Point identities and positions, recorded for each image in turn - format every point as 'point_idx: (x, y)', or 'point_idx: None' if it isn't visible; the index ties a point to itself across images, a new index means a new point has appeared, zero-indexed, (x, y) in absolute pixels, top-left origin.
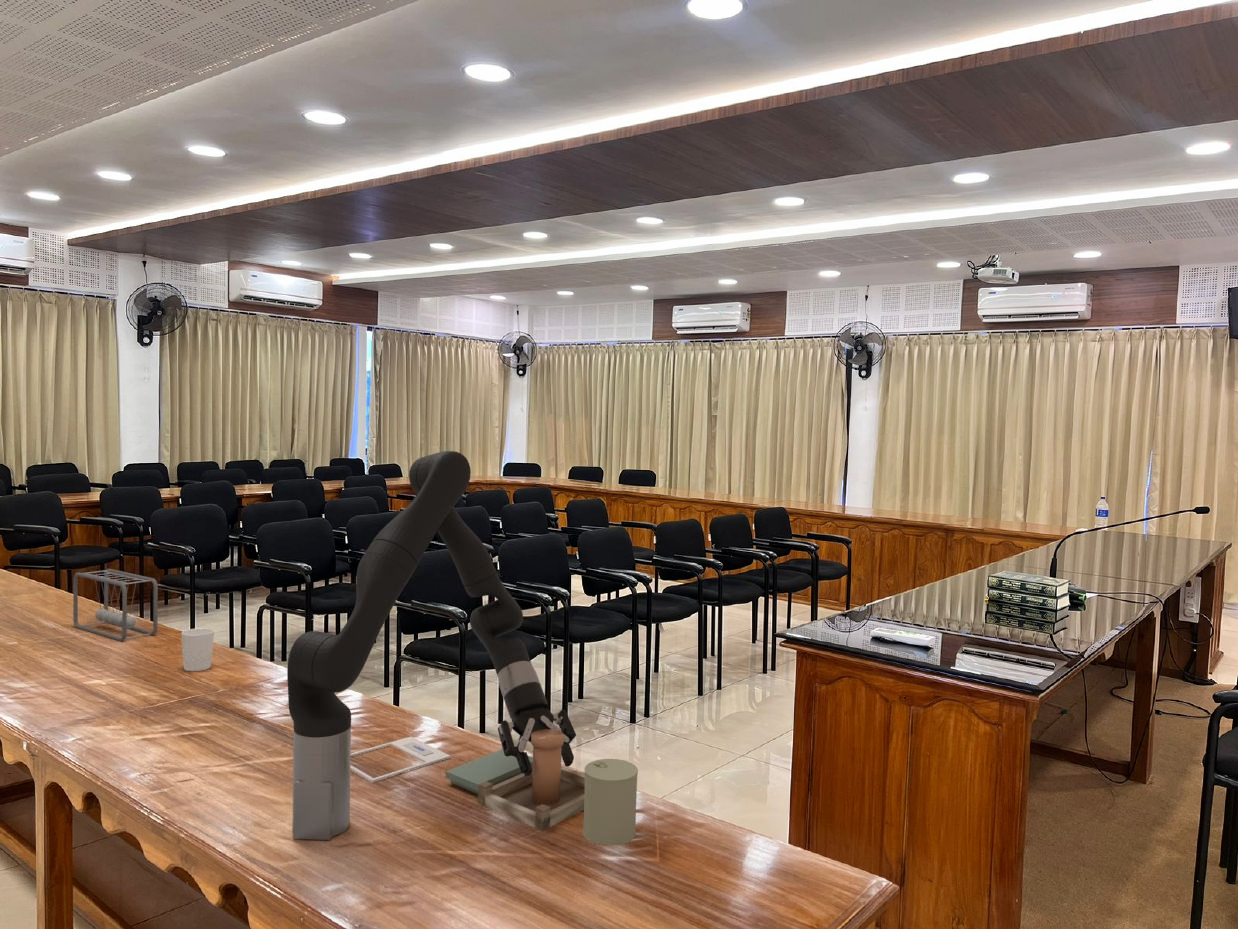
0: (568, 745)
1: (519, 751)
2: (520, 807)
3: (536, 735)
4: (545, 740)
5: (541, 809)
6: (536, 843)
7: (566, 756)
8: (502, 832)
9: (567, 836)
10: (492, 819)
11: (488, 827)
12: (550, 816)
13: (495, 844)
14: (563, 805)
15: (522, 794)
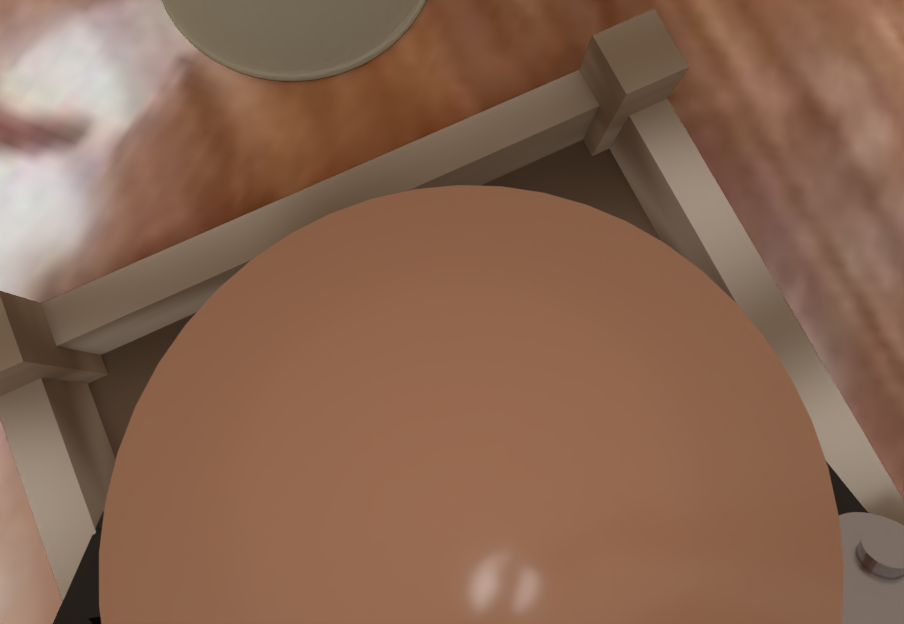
0: (75, 613)
1: (901, 532)
2: (723, 240)
3: (724, 607)
4: (627, 255)
5: (660, 27)
6: (672, 21)
7: None
8: (809, 190)
9: (499, 25)
10: (830, 356)
11: (871, 272)
12: (576, 73)
13: (871, 89)
14: (447, 160)
15: None
